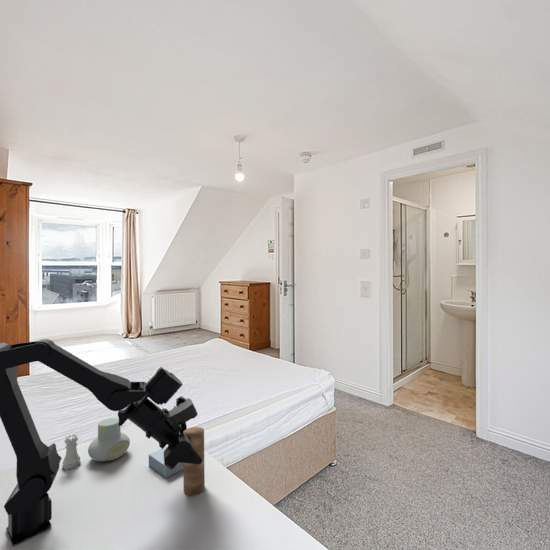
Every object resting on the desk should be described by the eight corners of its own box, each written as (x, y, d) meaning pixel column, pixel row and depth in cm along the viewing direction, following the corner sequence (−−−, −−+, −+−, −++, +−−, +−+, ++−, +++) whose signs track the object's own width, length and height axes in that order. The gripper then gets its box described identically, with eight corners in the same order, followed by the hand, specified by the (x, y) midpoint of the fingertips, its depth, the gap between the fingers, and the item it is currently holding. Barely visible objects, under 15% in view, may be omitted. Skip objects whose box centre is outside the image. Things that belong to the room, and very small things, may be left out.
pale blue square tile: (166, 477, 86) (165, 466, 86) (148, 465, 92) (148, 454, 92) (195, 463, 93) (195, 452, 93) (177, 452, 99) (177, 442, 99)
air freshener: (100, 469, 90) (99, 432, 90) (82, 461, 94) (82, 426, 95) (134, 451, 100) (134, 417, 100) (117, 444, 104) (117, 412, 104)
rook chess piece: (84, 461, 94) (84, 433, 94) (73, 470, 90) (73, 440, 90) (69, 460, 95) (69, 432, 95) (58, 469, 90) (57, 440, 90)
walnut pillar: (191, 498, 78) (190, 438, 78) (179, 489, 81) (179, 432, 81) (208, 488, 81) (208, 430, 82) (196, 480, 85) (196, 425, 85)
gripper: (180, 404, 71) (231, 446, 75) (173, 380, 89) (214, 415, 93) (141, 448, 68) (196, 489, 72) (141, 415, 86) (186, 449, 90)
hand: (199, 456), depth 82 cm, fingers closed on walnut pillar, 5 cm apart
